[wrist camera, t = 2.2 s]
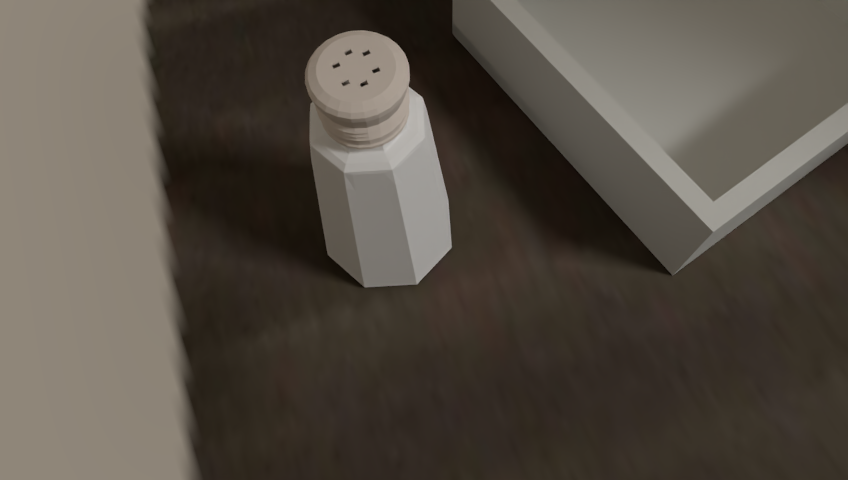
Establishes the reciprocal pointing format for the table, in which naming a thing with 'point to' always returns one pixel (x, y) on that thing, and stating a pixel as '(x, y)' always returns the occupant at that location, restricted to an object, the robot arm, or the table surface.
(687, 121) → the box
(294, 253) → the table surface
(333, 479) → the table surface
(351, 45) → the pepper shaker
